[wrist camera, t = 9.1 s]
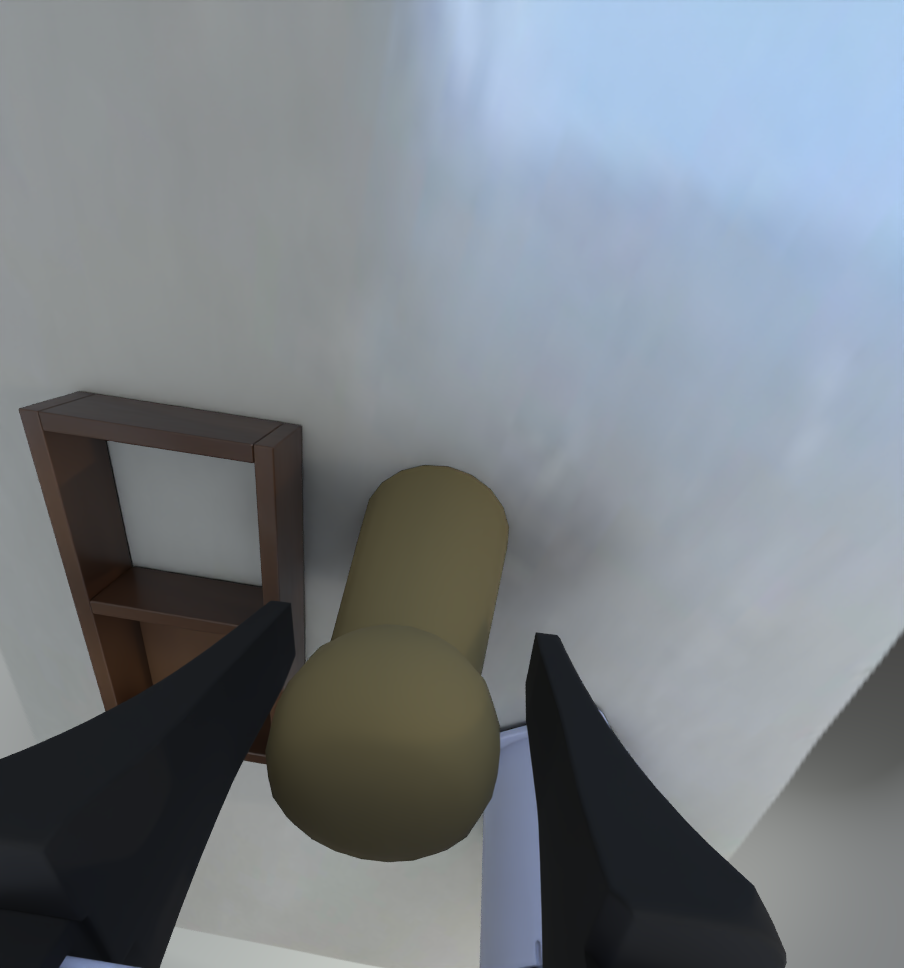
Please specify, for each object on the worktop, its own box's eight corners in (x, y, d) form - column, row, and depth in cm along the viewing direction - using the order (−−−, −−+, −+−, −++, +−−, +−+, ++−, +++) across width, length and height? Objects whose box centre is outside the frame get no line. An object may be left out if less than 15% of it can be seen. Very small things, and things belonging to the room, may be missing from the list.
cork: (502, 458, 17) (510, 711, 7) (514, 588, 20) (533, 910, 10) (349, 472, 18) (167, 716, 8) (378, 595, 20) (268, 900, 11)
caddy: (306, 723, 25) (286, 768, 22) (147, 696, 25) (112, 738, 23) (302, 424, 17) (273, 447, 15) (78, 390, 18) (17, 408, 15)
